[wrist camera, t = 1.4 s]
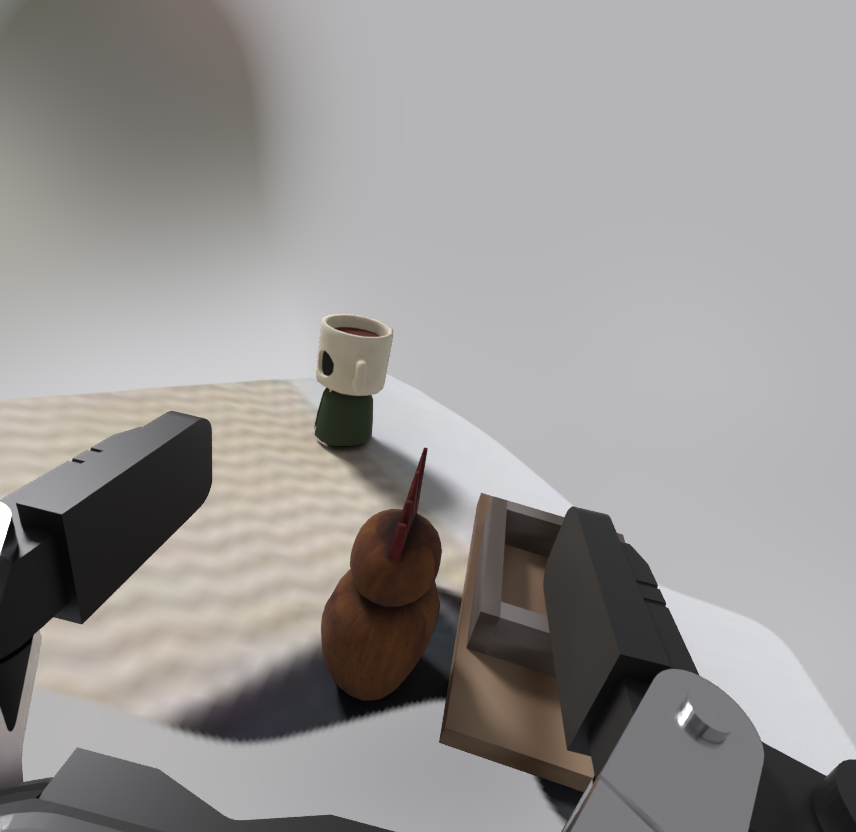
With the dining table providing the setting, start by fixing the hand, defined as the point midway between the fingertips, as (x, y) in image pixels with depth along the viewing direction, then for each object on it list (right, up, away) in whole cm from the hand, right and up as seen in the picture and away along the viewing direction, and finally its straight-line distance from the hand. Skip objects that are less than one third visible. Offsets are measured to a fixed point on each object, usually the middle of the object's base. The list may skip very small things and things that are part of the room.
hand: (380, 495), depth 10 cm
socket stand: (+10, -13, +24) cm, 29 cm away
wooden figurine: (-3, -14, +18) cm, 23 cm away
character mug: (-9, -1, +40) cm, 41 cm away
